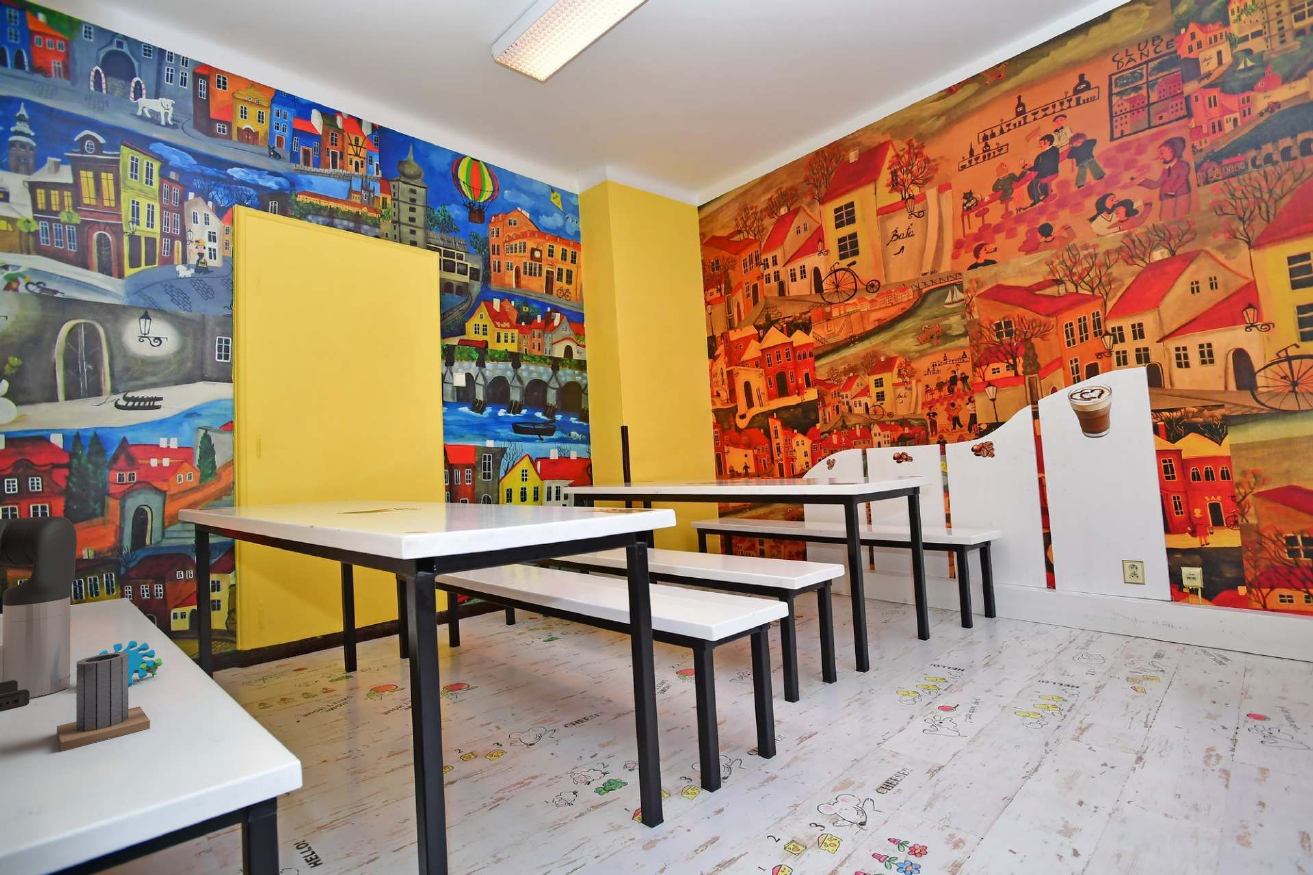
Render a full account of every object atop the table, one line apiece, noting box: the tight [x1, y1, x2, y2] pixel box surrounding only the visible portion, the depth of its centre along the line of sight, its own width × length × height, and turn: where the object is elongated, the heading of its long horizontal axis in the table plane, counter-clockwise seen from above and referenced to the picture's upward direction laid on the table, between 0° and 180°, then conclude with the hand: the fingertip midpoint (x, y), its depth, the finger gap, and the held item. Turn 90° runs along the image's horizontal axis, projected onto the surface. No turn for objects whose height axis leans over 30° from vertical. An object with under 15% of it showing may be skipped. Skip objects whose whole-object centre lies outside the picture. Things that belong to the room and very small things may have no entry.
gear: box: [98, 640, 163, 687], centre depth 123 cm, size 11×6×10 cm
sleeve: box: [75, 651, 129, 732], centre depth 97 cm, size 6×6×10 cm
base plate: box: [56, 706, 151, 752], centre depth 97 cm, size 10×10×1 cm
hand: (22, 691), depth 90 cm, fingers open, 8 cm apart
